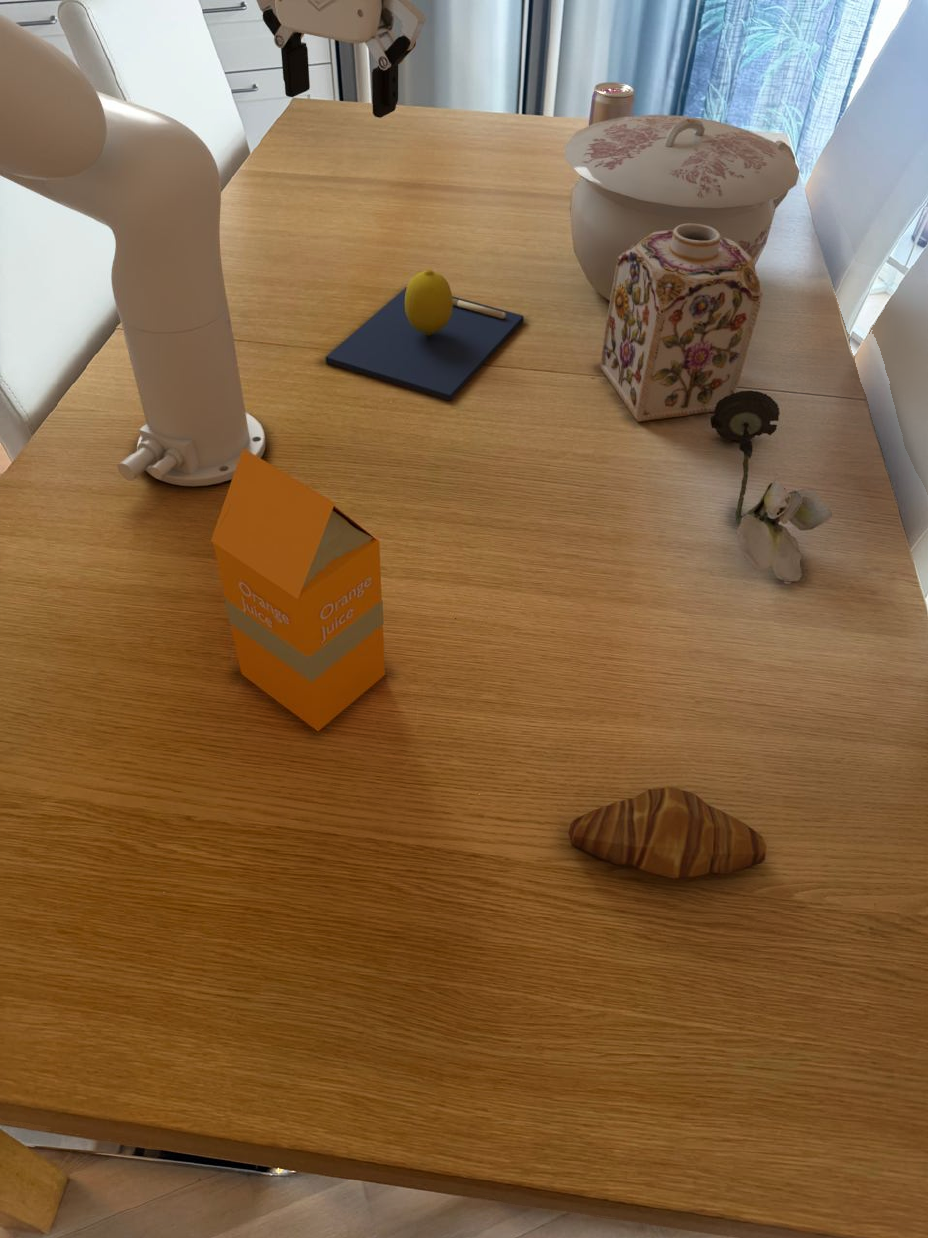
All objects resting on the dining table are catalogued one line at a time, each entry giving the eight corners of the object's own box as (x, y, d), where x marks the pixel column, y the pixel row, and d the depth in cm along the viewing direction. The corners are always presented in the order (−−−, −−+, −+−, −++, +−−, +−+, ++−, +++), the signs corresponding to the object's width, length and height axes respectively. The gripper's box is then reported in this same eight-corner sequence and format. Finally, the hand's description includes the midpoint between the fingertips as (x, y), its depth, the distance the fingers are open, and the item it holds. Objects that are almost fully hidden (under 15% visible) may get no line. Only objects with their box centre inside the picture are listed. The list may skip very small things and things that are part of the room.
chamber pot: (532, 325, 113) (549, 146, 98) (568, 231, 132) (587, 69, 117) (764, 361, 110) (818, 181, 95) (767, 259, 128) (814, 95, 113)
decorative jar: (634, 425, 100) (667, 263, 87) (595, 367, 107) (620, 211, 94) (735, 411, 102) (781, 252, 89) (689, 356, 110) (726, 202, 97)
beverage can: (572, 192, 142) (585, 83, 131) (606, 187, 143) (621, 79, 133) (592, 207, 138) (607, 97, 127) (626, 202, 140) (644, 92, 129)
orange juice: (309, 621, 78) (284, 422, 64) (387, 674, 75) (378, 475, 60) (238, 675, 74) (194, 474, 59) (316, 734, 70) (290, 535, 56)
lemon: (454, 324, 111) (455, 260, 106) (449, 348, 108) (450, 283, 102) (408, 321, 112) (407, 256, 106) (401, 345, 108) (400, 279, 102)
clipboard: (450, 401, 102) (450, 388, 100) (325, 362, 106) (324, 350, 105) (523, 321, 114) (524, 309, 113) (409, 289, 119) (409, 278, 118)
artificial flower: (776, 450, 99) (832, 382, 91) (780, 615, 86) (845, 551, 78) (701, 422, 98) (750, 350, 90) (692, 584, 85) (750, 517, 77)
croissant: (754, 815, 67) (773, 776, 63) (767, 903, 62) (789, 866, 58) (566, 798, 67) (575, 759, 63) (566, 884, 62) (575, 846, 59)
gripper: (217, -136, 76) (241, 95, 88) (400, -109, 71) (399, 132, 83) (271, -143, 81) (287, 76, 93) (446, -118, 76) (439, 111, 88)
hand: (340, 103), depth 88 cm, fingers open, 9 cm apart
